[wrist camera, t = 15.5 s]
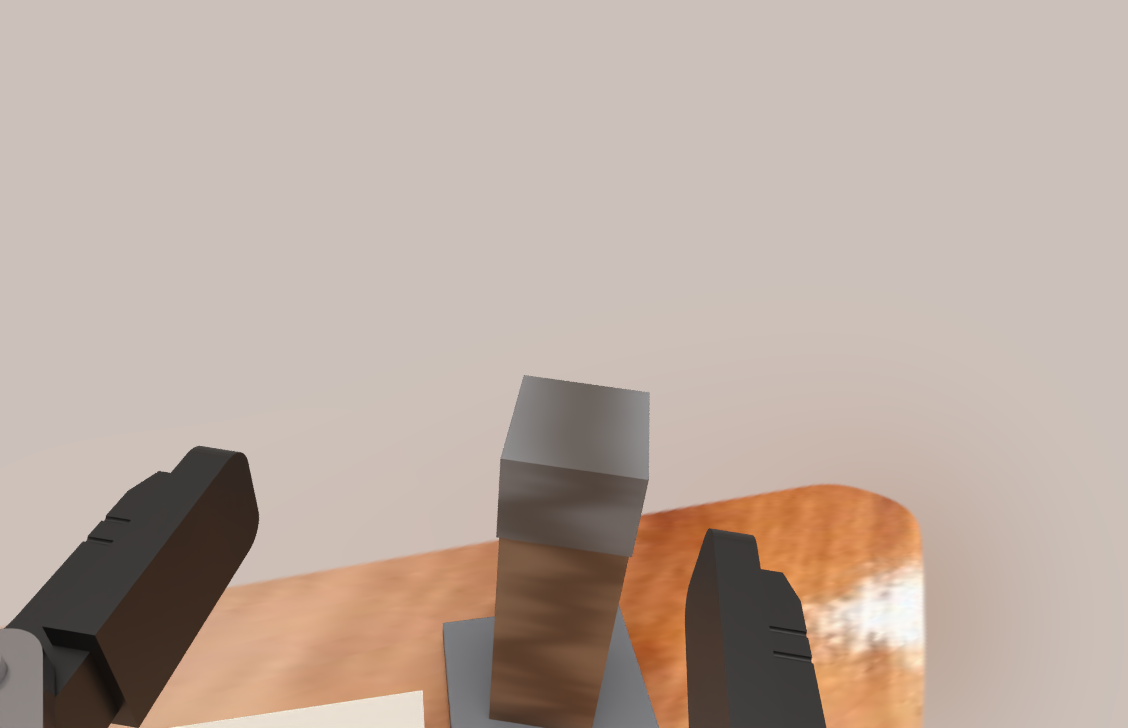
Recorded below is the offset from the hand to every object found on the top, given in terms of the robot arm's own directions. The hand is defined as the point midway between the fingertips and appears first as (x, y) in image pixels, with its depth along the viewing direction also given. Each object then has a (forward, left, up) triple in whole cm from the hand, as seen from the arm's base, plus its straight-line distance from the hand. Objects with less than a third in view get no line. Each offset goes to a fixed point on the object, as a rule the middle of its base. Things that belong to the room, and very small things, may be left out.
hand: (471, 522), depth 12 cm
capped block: (+5, +11, -24) cm, 27 cm away
